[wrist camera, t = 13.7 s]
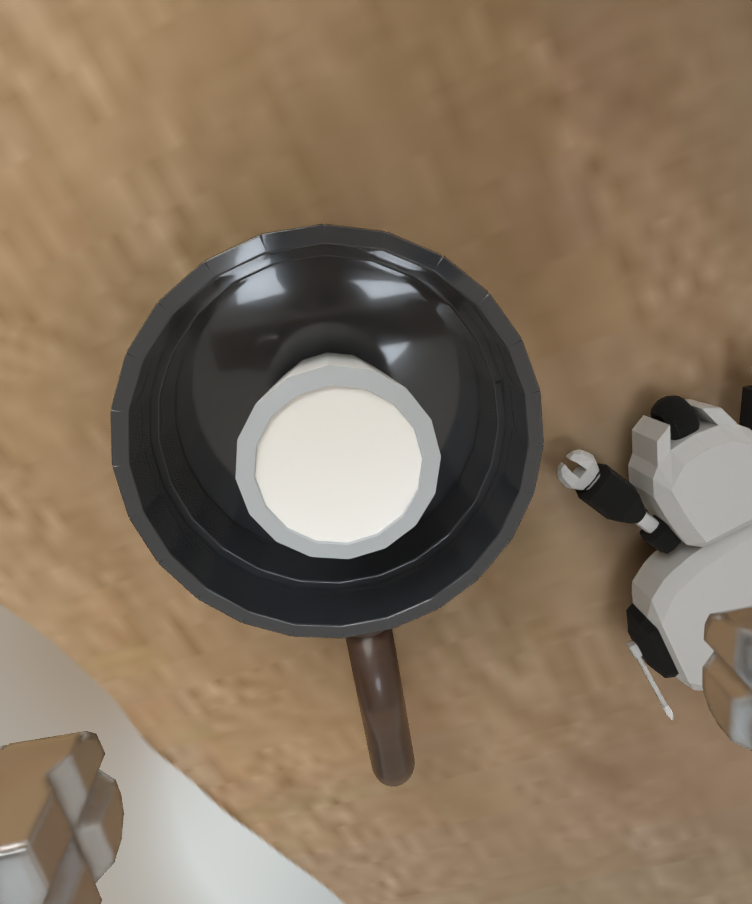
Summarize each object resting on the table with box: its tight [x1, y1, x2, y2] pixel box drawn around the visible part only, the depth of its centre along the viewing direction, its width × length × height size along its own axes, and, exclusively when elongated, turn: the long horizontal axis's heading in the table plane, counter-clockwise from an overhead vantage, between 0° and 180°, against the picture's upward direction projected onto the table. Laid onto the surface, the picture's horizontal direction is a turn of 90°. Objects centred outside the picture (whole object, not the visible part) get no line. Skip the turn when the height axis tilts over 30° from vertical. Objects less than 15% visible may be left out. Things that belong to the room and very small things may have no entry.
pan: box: [111, 224, 544, 638], centre depth 24 cm, size 15×15×6 cm
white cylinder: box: [235, 352, 441, 559], centre depth 23 cm, size 7×7×7 cm
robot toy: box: [557, 366, 752, 720], centre depth 28 cm, size 12×4×15 cm
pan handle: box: [346, 629, 415, 786], centre depth 26 cm, size 10×2×2 cm, turn 9°
